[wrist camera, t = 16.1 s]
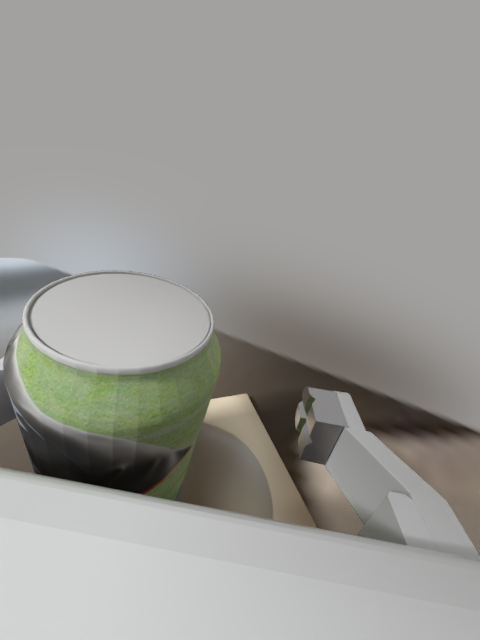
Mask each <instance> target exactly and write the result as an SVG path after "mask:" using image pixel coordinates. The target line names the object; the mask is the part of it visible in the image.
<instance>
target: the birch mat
mask: <svg viewBox="0 0 480 640" xmlns="http://www.w3.org/2000/svg"><path fill="white" fill-rule="evenodd" d="M177 501H179V502H184V503H189V504H194V505H200V506H205V507H210V508H215V509H220V510H225V511H231V512H236V513H241V514H246V515H251V516H257V517H262V518H267V519H272V520H277V521H283V522H288V523H293V524H298V525H303V526H308V527H314V528H317V526H316V524H315V522H314V520H313V518H312V517H311V515H310V513H309V511H308V509H307V507H306V505H305V503H304V501H303V499H302V498H301V496H300V494H299V492H298V490H297V488H296V486H295V484H294V482H293V481H292V479H291V477H290V475H289V473H288V471H287V469H286V467H285V465H284V463H283V462H282V460H281V458H280V456H279V454H278V452H277V450H276V448H275V446H274V444H273V443H272V441H271V439H270V437H269V435H268V433H267V431H266V429H265V427H264V425H263V424H262V422H261V420H260V418H259V416H258V414H257V412H256V410H255V408H254V406H253V405H252V403H251V401H250V399H249V397H248V395H247V393H246V394H240V395H234V396H229V397H223V398H217V399H211V400H210V403H209V406H208V409H207V412H206V415H205V418H204V421H203V424H202V427H201V430H200V433H199V436H198V439H197V442H196V445H195V448H194V451H193V454H192V457H191V460H190V463H189V466H188V469H187V472H186V475H185V478H184V481H183V484H182V487H181V490H180V493H179V496H178V499H177Z"/></svg>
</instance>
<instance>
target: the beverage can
mask: <svg viewBox="0 0 480 640" xmlns="http://www.w3.org/2000/svg"><path fill="white" fill-rule="evenodd" d="M22 320H23V322H22V324H21V325H20V326H19V327H18V329H17V330H16V332H15V334H14V335H13V337H12V338H11V340H10V342H9V344H8V346H7V350H6V353H5V357H4V361H3V370H4V382H5V385H6V388H7V391H8V394H9V397H10V400H11V403H12V406H13V409H14V412H15V415H16V418H17V421H18V424H19V427H20V430H21V433H22V436H23V439H24V442H25V445H26V448H27V451H28V454H29V457H30V460H31V463H32V466H33V469H34V472H35V474H39V475H44V476H49V477H54V478H59V479H65V480H70V481H75V482H80V483H85V484H91V485H96V486H101V487H106V488H111V489H117V490H122V491H127V492H132V493H137V494H143V495H148V496H153V497H158V498H163V499H168V500H174V501H177V499H178V496H179V493H180V490H181V487H182V484H183V481H184V478H185V475H186V472H187V469H188V466H189V463H190V460H191V457H192V454H193V451H194V448H195V445H196V442H197V439H198V436H199V433H200V430H201V427H202V424H203V421H204V418H205V415H206V412H207V409H208V406H209V403H210V400H211V397H212V394H213V391H214V388H215V385H216V382H217V379H218V376H219V372H220V365H221V351H220V344H219V341H218V339H217V336H216V333H215V331H214V319H213V315H212V312H211V310H210V308H209V307H208V305H207V304H206V302H204V300H203V299H202V298H201V297H200V296H198V295H197V294H196V293H194V292H193V291H192V290H190V289H188V288H187V287H185V286H183V285H181V284H179V283H176V282H174V281H171V280H168V279H166V278H162V277H159V276H155V275H151V274H146V273H140V272H132V271H95V272H87V273H81V274H76V275H72V276H68V277H65V278H62V279H59V280H57V281H54V282H52V283H50V284H48V285H46V286H45V287H43V288H41V289H40V290H39V291H37V292H36V293H35V294H34V295H33V296H32V297H31V298H30V299H29V301H28V302H27V304H26V305H25V308H24V312H23V316H22Z"/></svg>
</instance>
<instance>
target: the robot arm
mask: <svg viewBox="0 0 480 640" xmlns="http://www.w3.org/2000/svg"><path fill="white" fill-rule="evenodd" d="M3 361H4V357H3V358H1V359H0V426H1V425H3V424H5V423H7V422H9V421H11V420H13V419H15V418H16V415H15V412H14V409H13V406H12V403H11V400H10V397H9V394H8V391H7V388H6V385H5V382H4V370H3ZM302 399H303V401H302V402H300V403H298V406H297V410H296V416H295V426H296V431H297V432H298V433H299V435H300V436H299V438H298V441H297V442H298V449H299V456H300V459H301V460H305V461H310V462H314V463H319V464H324V465H325V467H326V468H327V470H328V471H329V473H330V474H331V476H332V477H333V479H334V480H335V482H336V483H337V485H338V486H339V488H340V489H341V491H342V492H343V494H344V495H345V497H346V498H347V500H348V501H349V503H350V504H351V506H352V507H353V508H354V510H355V511H356V513H357V514H358V516H359V517H360V519H361V520H362V522H363V523H364V527H363V528H362V529H361V531H360V532H359V533H358V535H357V536H355V535H350V534H345V533H339V532H334V531H329V530H324V529H319V528H314V527H308V526H303V525H298V524H293V523H288V522H283V521H277V520H272V519H267V518H262V517H257V516H251V515H246V514H241V513H236V512H231V511H225V510H220V509H215V508H210V507H205V506H200V505H194V504H189V503H184V502H179V501H174V500H168V499H163V498H158V497H153V496H148V495H143V494H137V493H132V492H127V491H122V490H117V489H111V488H106V487H101V486H96V485H91V484H85V483H80V482H75V481H70V480H65V479H59V478H54V477H49V476H44V475H39V474H33V473H28V472H23V471H18V470H13V469H8V468H2V467H0V640H480V555H479V553H478V552H477V550H476V548H475V547H474V545H473V543H472V542H471V540H470V538H469V537H468V535H467V533H466V532H465V530H464V528H463V527H462V525H461V523H460V522H459V520H458V519H457V517H456V515H455V514H454V512H453V510H452V509H451V507H450V505H449V504H448V502H447V501H446V500H445V499H444V498H443V497H442V496H441V495H440V494H439V493H438V492H436V491H435V490H434V489H433V488H432V487H431V486H430V485H429V484H428V483H427V482H425V481H424V480H423V479H422V478H421V477H420V476H419V475H418V474H417V473H415V472H414V471H413V470H412V469H411V468H410V467H409V466H408V465H407V464H406V463H404V462H403V461H402V460H401V459H400V458H399V457H398V456H397V455H396V454H394V453H393V452H392V451H391V450H390V449H389V448H388V447H387V446H386V445H385V444H383V443H382V442H381V441H380V440H379V439H378V438H377V437H376V436H375V435H373V434H372V433H371V432H368V431H366V430H365V427H364V425H363V423H362V421H361V418H360V416H359V414H358V412H357V409H356V407H355V405H354V403H353V400H352V398H351V396H350V395H349V394H348V393H345V392H338V391H330V390H324V389H319V388H313V387H308V386H305V388H304V389H303V392H302Z"/></svg>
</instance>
